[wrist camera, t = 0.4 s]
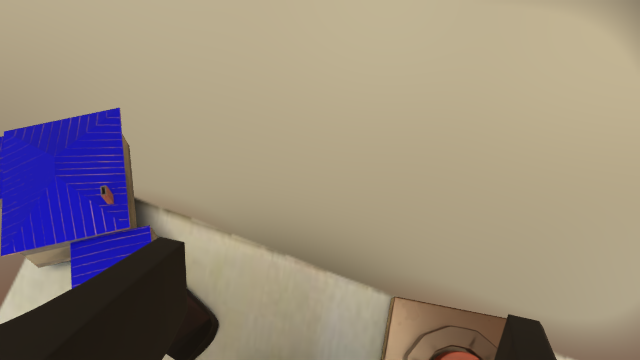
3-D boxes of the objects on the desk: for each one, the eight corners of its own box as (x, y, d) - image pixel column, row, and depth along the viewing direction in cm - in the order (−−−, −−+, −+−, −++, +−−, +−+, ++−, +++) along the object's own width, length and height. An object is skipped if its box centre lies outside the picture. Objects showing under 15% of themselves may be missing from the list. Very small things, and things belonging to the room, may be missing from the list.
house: (-6, 338, 40) (-56, 313, 35) (-1, 156, 46) (-42, 113, 41) (166, 298, 40) (141, 269, 36) (147, 125, 47) (123, 80, 42)
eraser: (107, 216, 43) (116, 220, 45) (65, 259, 43) (75, 262, 44) (224, 323, 41) (228, 323, 43) (182, 371, 41) (187, 369, 42)
